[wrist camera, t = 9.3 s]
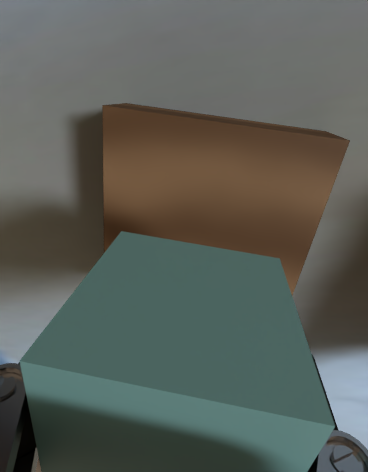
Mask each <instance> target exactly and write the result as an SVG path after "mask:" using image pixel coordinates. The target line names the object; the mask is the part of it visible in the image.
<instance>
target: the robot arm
mask: <svg viewBox="0 0 368 472" xmlns="http://www.w3.org/2000/svg"><path fill="white" fill-rule="evenodd" d="M311 355H312V354H311ZM312 358H313V361H314V364H315V367H316V370H317V373H318V376H319V379H320V382H321V385H322V388H323V391H324V394H325V397H326V400H327V403H328V406H329V409H330V412H331V415H332V418H333V421H334V424H335V428H334V429H333V431H332V433H331V434H330V436H329V437H328V439H327V441H326V442H325V444H324V446H323V447H322V449H321V450H320V452H319V454H318V455H317V457H316V459H315V460H314V462H313V463H312V465H311V467H310V468H309V470H308V472H368V450H367V448H366V447H365V446H364V445H363V444H362V443H361V442H360V441H359V440H357V439H356V438H354V437H353V436H351V435H350V434H347V433H345V432H343V431H338V428H337V425H336V422H335V419H334V416H333V413H332V410H331V407H330V404H329V401H328V398H327V395H326V392H325V389H324V386H323V383H322V380H321V377H320V374H319V371H318V368H317V365H316V362H315V359H314V357H313V355H312ZM37 459H38V451H37V446H36V441H35V436H34V431H33V426H32V421H31V416H30V411H29V406H28V401H27V396H26V391H25V386H24V381H23V376H22V371H21V366H20V362H19V364H16V363H6V364H2V365H0V472H35V471H36V465H37Z"/></svg>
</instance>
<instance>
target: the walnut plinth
mask: <svg viewBox="0 0 368 472" xmlns="http://www.w3.org/2000/svg"><path fill="white" fill-rule="evenodd" d="M349 142H350V140H347V139H344V138H342V137H339V136H337V135H334V134H331V133H329V132H326V131H319V130H312V129H305V128H298V127H291V126H284V125H277V124H270V123H263V122H255V121H248V120H241V119H234V118H227V117H220V116H213V115H206V114H199V113H192V112H185V111H178V110H170V109H163V108H156V107H149V106H142V105H135V104H128V103H123V104H112V105H103V194H104V253H105V251H106V250H107V249H108V248H109V246H110V245H111V244H112V243H113V241H114V240H115V239H116V237H117V236H118V235H119V234H120V232H121V231H123V232H129V233H135V234H141V235H146V236H152V237H158V238H164V239H170V240H175V241H181V242H187V243H193V244H199V245H205V246H210V247H216V248H222V249H228V250H234V251H239V252H245V253H251V254H257V255H263V256H268V257H274V258H280V261H281V264H282V267H283V270H284V273H285V276H286V279H287V282H288V285H289V288H290V291H291V294H292V295H293V292H294V289H295V287H296V284H297V281H298V279H299V276H300V273H301V270H302V268H303V265H304V262H305V260H306V257H307V254H308V252H309V249H310V246H311V244H312V241H313V238H314V236H315V233H316V230H317V228H318V225H319V222H320V220H321V217H322V214H323V211H324V209H325V206H326V203H327V201H328V198H329V195H330V193H331V190H332V187H333V185H334V182H335V179H336V177H337V174H338V171H339V169H340V166H341V163H342V161H343V158H344V155H345V152H346V150H347V147H348V144H349Z"/></svg>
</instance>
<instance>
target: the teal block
mask: <svg viewBox="0 0 368 472" xmlns="http://www.w3.org/2000/svg"><path fill="white" fill-rule="evenodd" d="M20 366H21V371H22V376H23V381H24V386H25V391H26V396H27V401H28V406H29V411H30V416H31V421H32V426H33V431H34V436H35V441H36V446H37V451H38V456H39V461H40V466H41V471H42V472H308V470H309V468H310V467H311V465H312V463H313V462H314V460H315V459H316V457H317V455H318V454H319V452H320V450H321V449H322V447H323V446H324V444H325V442H326V441H327V439H328V437H329V436H330V434H331V433H332V431H333V429H334V428H335V424H334V421H333V418H332V415H331V412H330V409H329V406H328V403H327V400H326V397H325V394H324V391H323V388H322V385H321V382H320V379H319V376H318V373H317V370H316V367H315V364H314V361H313V358H312V355H311V352H310V349H309V346H308V343H307V340H306V337H305V334H304V330H303V327H302V324H301V321H300V318H299V315H298V312H297V309H296V306H295V303H294V300H293V297H292V294H291V291H290V288H289V285H288V282H287V279H286V276H285V273H284V270H283V267H282V264H281V261H280V258H274V257H268V256H263V255H257V254H251V253H245V252H239V251H234V250H228V249H222V248H216V247H210V246H205V245H199V244H193V243H187V242H181V241H175V240H170V239H164V238H158V237H152V236H146V235H141V234H135V233H129V232H123V231H121V232H120V234H119V235H118V236H117V237H116V239H115V240H114V241H113V243H112V244H111V245H110V246H109V248H108V249H107V250H106V251H105V253H104V254H103V255H102V257H101V258H100V259H99V260H98V262H97V263H96V264H95V265H94V267H93V268H92V269H91V271H90V272H89V273H88V274H87V276H86V277H85V278H84V280H83V281H82V282H81V283H80V285H79V286H78V287H77V288H76V290H75V291H74V292H73V294H72V295H71V296H70V297H69V299H68V300H67V301H66V302H65V304H64V305H63V306H62V308H61V309H60V310H59V311H58V313H57V314H56V315H55V316H54V318H53V319H52V320H51V322H50V323H49V324H48V325H47V327H46V328H45V329H44V331H43V332H42V333H41V334H40V336H39V337H38V338H37V339H36V341H35V342H34V343H33V345H32V346H31V347H30V348H29V350H28V351H27V352H26V353H25V355H24V356H23V357H22V359H21V360H20Z"/></svg>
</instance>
